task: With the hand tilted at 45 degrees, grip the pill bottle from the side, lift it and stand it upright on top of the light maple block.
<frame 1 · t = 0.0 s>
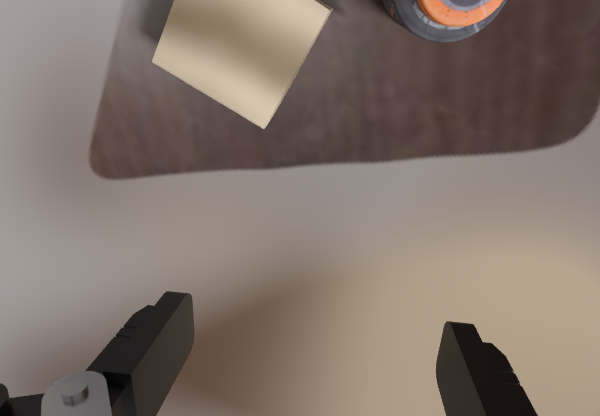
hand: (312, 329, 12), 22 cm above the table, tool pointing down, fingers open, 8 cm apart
maple block: (250, 32, 29), on the table
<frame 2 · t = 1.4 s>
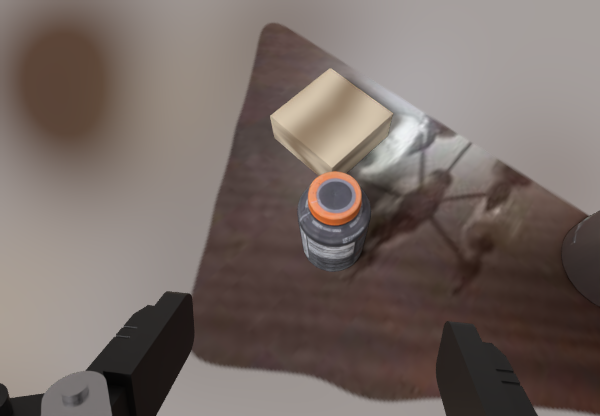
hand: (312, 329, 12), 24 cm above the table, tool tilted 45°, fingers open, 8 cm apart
maple block: (330, 137, 44), on the table
pill bottle: (332, 244, 39), on the table
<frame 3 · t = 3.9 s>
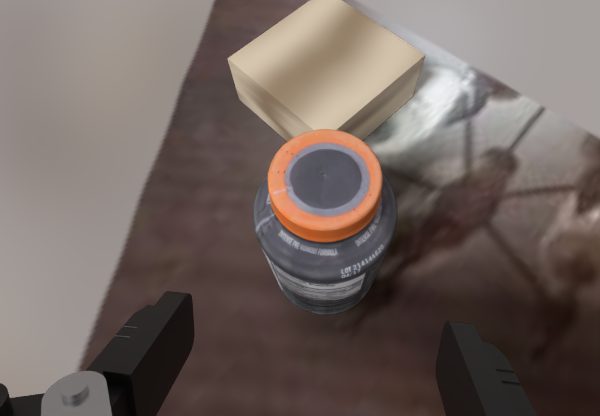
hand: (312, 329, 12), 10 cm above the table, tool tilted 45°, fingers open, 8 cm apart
maple block: (324, 98, 29), on the table
pill bottle: (324, 267, 24), on the table
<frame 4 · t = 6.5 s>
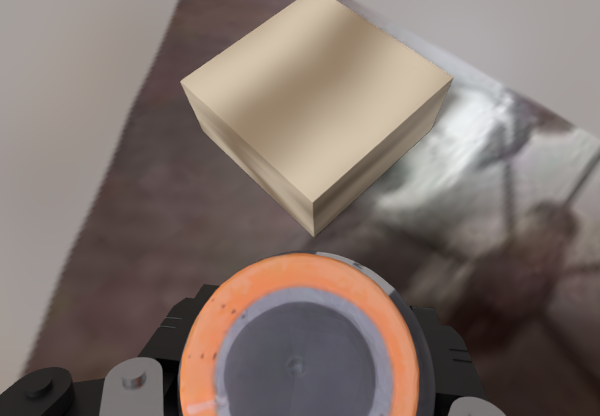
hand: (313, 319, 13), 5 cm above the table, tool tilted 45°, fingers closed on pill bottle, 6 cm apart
maple block: (315, 130, 22), on the table
pill bottle: (312, 378, 17), on the table, touching gripper
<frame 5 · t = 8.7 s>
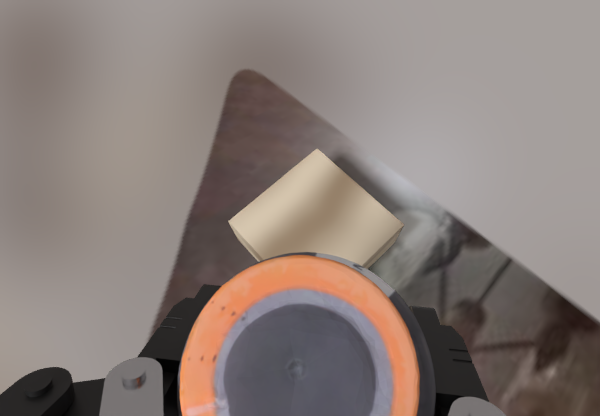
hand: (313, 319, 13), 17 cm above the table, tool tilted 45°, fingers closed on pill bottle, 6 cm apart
maple block: (315, 241, 32), on the table
pill bottle: (312, 379, 17), point 12 cm above the table, touching gripper
when the fingers open (10 cm above the table, at t = 11.4 s): pill bottle drops 1 cm, resting on maple block.
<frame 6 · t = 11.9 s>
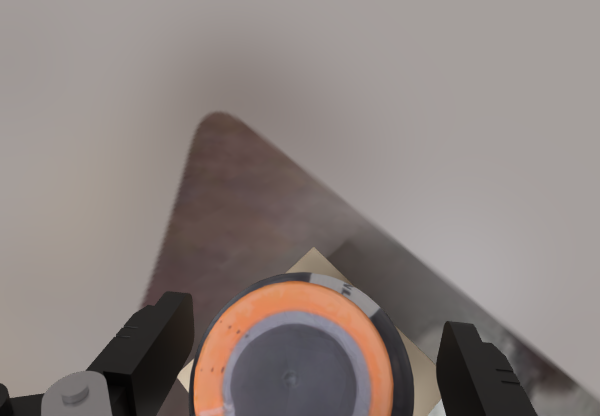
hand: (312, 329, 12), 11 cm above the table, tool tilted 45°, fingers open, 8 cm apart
maple block: (313, 380, 21), on the table
pill bottle: (310, 383, 18), point 4 cm above the table, touching maple block
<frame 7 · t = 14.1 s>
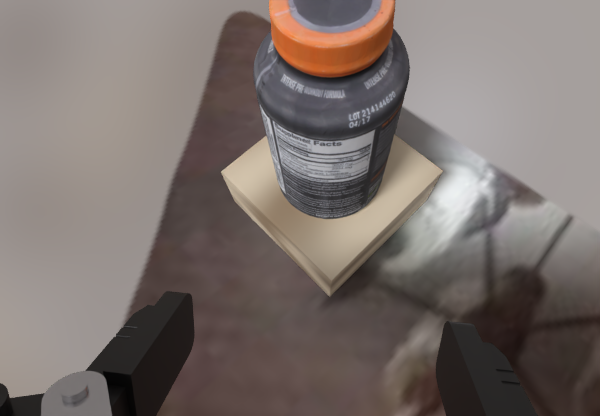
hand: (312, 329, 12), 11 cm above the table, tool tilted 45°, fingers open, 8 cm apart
maple block: (329, 201, 26), on the table
pill bottle: (328, 176, 22), point 4 cm above the table, touching maple block
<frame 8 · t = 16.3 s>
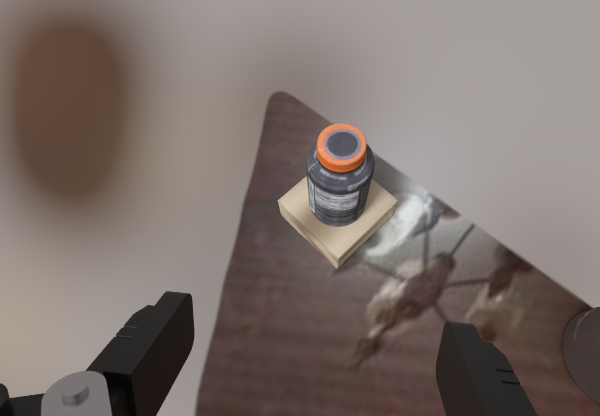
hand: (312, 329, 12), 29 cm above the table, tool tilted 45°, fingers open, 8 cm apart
maple block: (336, 215, 45), on the table
pill bottle: (336, 203, 41), point 4 cm above the table, touching maple block
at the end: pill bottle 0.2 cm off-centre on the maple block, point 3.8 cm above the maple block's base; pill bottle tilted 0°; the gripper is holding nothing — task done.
